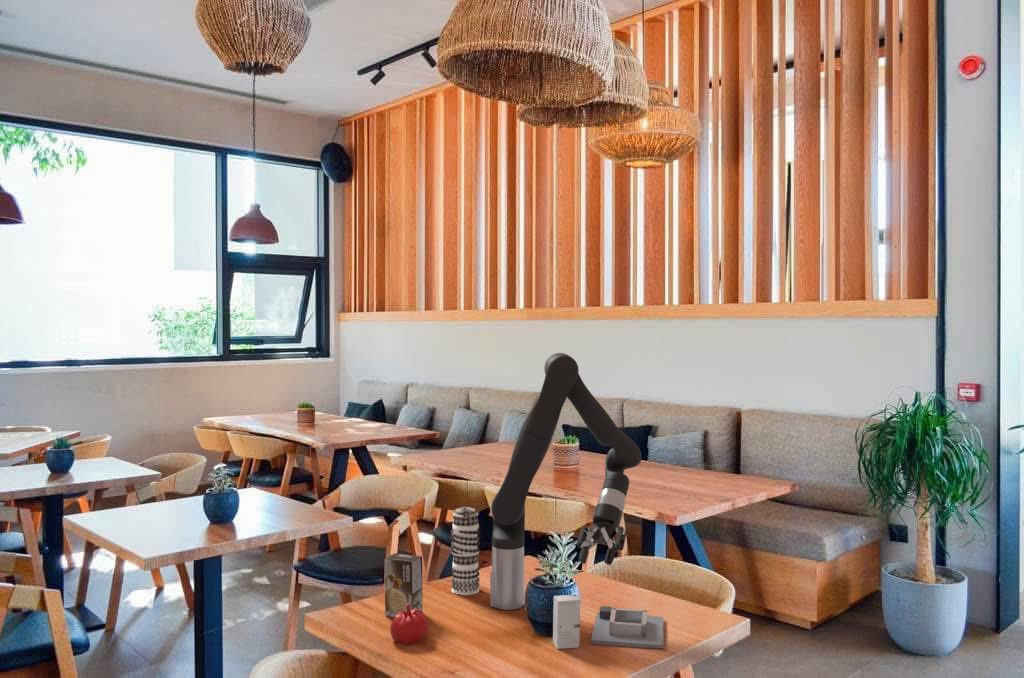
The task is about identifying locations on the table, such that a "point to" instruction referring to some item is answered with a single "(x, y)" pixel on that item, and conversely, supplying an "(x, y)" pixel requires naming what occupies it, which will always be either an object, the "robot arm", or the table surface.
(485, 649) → the table surface
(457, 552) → the decorative candle
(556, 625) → the skincare box
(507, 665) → the table surface
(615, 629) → the guard collar
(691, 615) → the table surface
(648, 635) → the grey holder base
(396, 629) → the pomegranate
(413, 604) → the coffee box
